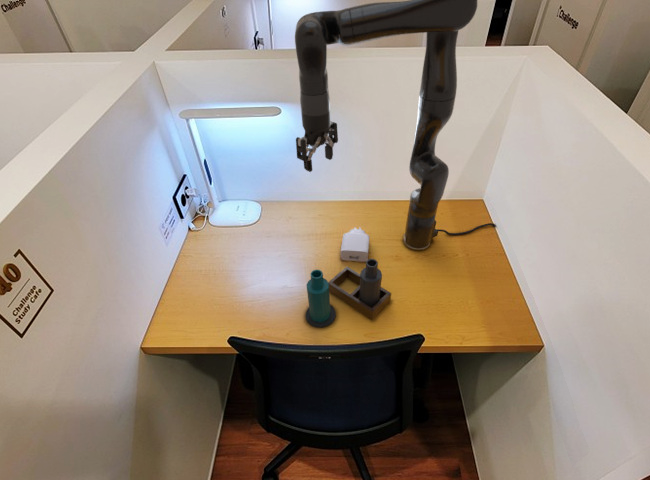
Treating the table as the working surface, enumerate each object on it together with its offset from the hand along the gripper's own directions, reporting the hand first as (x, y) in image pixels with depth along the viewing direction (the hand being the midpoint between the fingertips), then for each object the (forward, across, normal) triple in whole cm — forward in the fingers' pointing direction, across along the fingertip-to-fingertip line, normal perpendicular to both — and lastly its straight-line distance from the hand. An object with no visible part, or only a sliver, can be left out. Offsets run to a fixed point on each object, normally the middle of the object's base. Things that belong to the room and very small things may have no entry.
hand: (319, 164), depth 106 cm
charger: (+33, +8, -8) cm, 35 cm away
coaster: (+33, -23, -19) cm, 44 cm away
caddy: (+33, -10, -23) cm, 41 cm away
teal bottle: (+32, -23, -19) cm, 44 cm away
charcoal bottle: (+33, -10, -27) cm, 44 cm away
